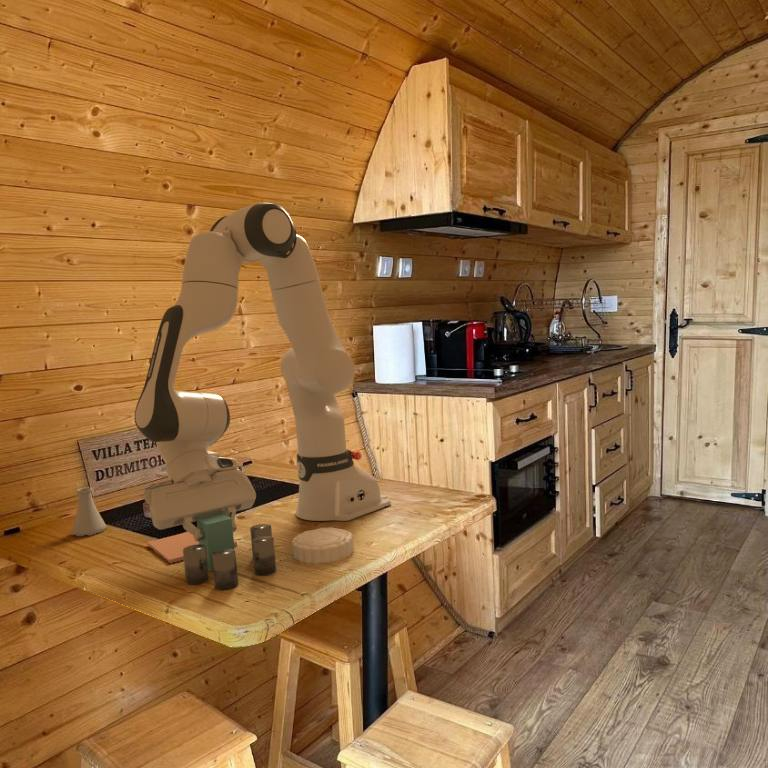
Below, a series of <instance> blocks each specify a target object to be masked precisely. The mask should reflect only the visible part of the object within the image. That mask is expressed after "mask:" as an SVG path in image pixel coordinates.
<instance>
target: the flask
mask: <svg viewBox="0 0 768 768" xmlns="http://www.w3.org/2000/svg"><path fill="white" fill-rule="evenodd" d="M92 491H93V487H82V488H78V489H77V490H76V491H75V493H76V494H77V495H78V505H77V510H76V515H75V519H74V523H73V526H72V528H71V529H72V530H71V533H70V535H71V536H74V535H76V536H75V537H85V536H84V535H88V536H94V535H97V534H99V533H102V532H104V531H105V530H106V529H107V528H106V527H108V526H107V525H106V523H105V521H104V519H103V518H102V516H101V514H100V513H99V510H98V508H97V507H96V505H95V502H94V498H93V495H92ZM105 528H106V529H105ZM96 533H97V534H96ZM93 534H94V535H93Z"/></svg>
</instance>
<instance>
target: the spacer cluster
mask: <svg viewBox="0 0 768 768" xmlns="http://www.w3.org/2000/svg"><path fill="white" fill-rule="evenodd" d="M249 529H250V530H249V531H250V541H251V551H252V552H251V554H252V563H253V564H252V565H253V573H254V575H256V576H259V577H262V576H270V575H272V574H274V573H276V572H277V565H276V564H277V562H276V551H275V538H274V537H273V532H272V525H271V524H269V523H260V524H254V525H252V526H250V528H249ZM234 549H235V548H234ZM234 549H229V548H227V549H220V550H216V551H214V552H213V553H212V562H213V571H212V572H213V580H214V581H213V583H214V588H215V589H216V590H217V591H227V590H232V589H234V588H236V587H237V586H238V585H239V578H238V569H237V558H236V557H237V556H236V550H234ZM183 556H184V560H183V563H184V565H183V566H184V575H185V583H186V585H191V586H196V585H201V584H204V583H207V582H208V581H209V579H210V576H209V570H208V563H207V553H206V546H205V545H202V544H197V545H191V546H187V547H185V548H184V549H183Z"/></svg>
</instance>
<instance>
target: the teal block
mask: <svg viewBox="0 0 768 768" xmlns="http://www.w3.org/2000/svg"><path fill="white" fill-rule="evenodd" d="M196 527H197V528H198V529H199V528H202V529H203V533H204V535H205V537H204V540H200V541H199V544H202V545H205V546H206V553H207V563H208V571H209V572H213V562H212V553H213V552H214V551H216V550H220V549H227V548H229V549H234V550H235V549H236V548H235V546H234V532H233V527H232V518H230V517H228V516H226V514H223V513H218V514H214V515H210V516H206V517H201V518H197V521H196ZM235 551H236V550H235Z"/></svg>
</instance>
